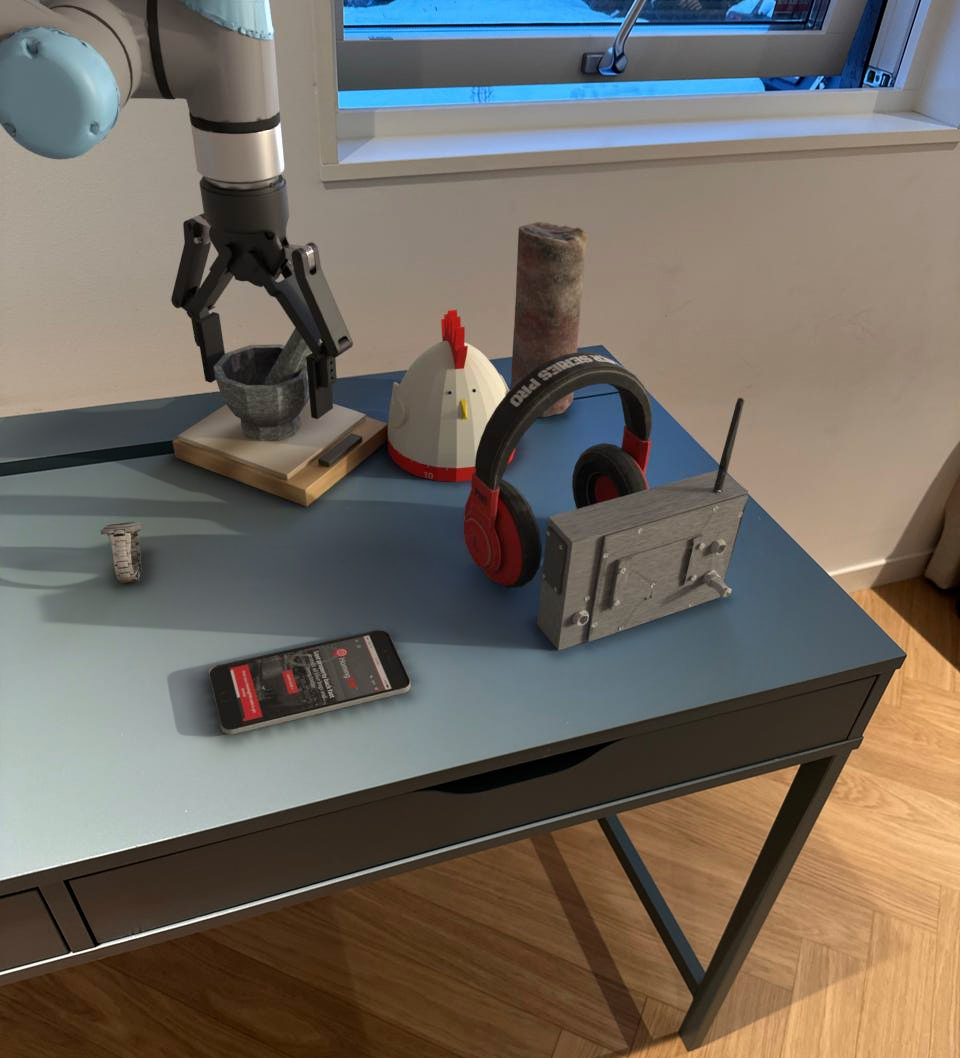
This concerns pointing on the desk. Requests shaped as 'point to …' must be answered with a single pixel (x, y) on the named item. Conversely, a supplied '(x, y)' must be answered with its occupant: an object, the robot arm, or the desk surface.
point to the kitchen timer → (444, 407)
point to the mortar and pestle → (266, 387)
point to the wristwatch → (125, 550)
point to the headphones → (599, 475)
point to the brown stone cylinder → (547, 299)
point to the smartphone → (307, 681)
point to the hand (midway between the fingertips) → (268, 394)
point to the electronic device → (640, 554)
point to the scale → (284, 451)
